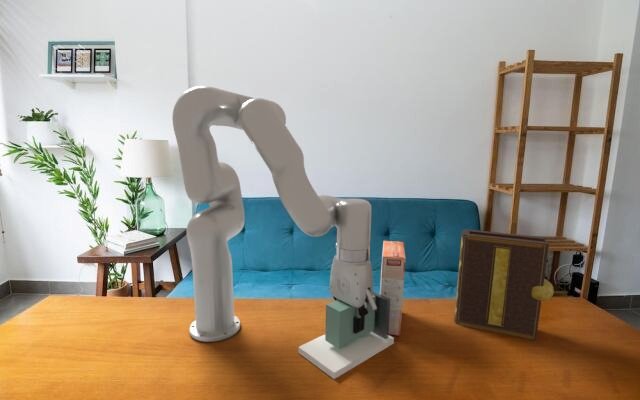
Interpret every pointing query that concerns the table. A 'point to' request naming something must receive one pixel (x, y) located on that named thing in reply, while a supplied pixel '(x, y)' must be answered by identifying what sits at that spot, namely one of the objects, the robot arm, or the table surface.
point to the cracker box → (393, 281)
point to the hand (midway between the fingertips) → (350, 325)
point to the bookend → (381, 316)
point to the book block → (345, 323)
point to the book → (502, 282)
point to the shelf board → (343, 353)
